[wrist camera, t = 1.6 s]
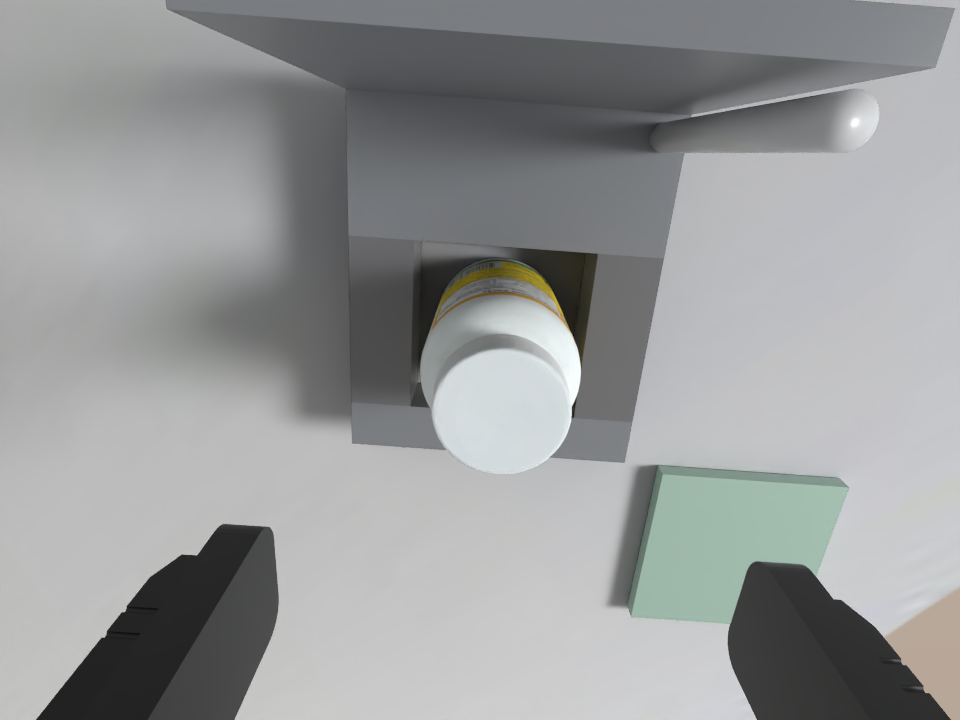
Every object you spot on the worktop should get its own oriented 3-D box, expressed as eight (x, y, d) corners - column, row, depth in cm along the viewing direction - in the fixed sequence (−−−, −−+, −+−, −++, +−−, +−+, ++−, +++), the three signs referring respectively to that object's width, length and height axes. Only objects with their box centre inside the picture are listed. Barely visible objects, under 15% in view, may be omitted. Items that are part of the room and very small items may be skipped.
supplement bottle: (466, 236, 23) (449, 290, 14) (579, 285, 23) (633, 367, 15) (420, 346, 25) (380, 456, 16) (527, 389, 25) (546, 518, 16)
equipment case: (361, 72, 21) (159, -54, 8) (673, 96, 21) (955, 7, 8) (364, 417, 26) (244, 666, 13) (612, 434, 26) (726, 699, 13)
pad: (658, 465, 27) (663, 474, 26) (839, 478, 27) (849, 487, 26) (627, 605, 30) (631, 617, 29) (788, 616, 30) (796, 628, 29)
